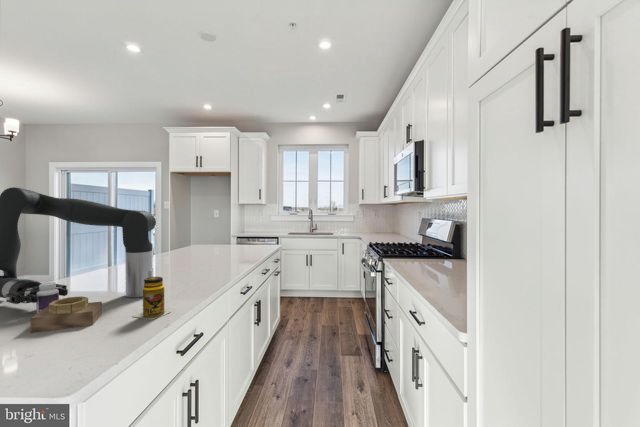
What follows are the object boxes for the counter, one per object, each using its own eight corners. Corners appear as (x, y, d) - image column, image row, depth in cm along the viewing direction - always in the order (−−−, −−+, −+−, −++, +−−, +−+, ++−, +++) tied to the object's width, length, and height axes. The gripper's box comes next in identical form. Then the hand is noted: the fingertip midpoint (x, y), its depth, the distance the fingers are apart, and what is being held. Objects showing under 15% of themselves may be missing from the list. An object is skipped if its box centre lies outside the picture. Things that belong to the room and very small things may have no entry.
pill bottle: (63, 311, 99) (62, 282, 99) (43, 317, 94) (43, 286, 94) (52, 309, 101) (52, 281, 101) (32, 315, 96) (32, 285, 95)
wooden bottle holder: (101, 313, 97) (101, 293, 97) (92, 324, 88) (92, 302, 88) (46, 319, 92) (46, 298, 92) (30, 332, 83) (30, 309, 82)
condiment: (153, 320, 92) (152, 281, 92) (132, 317, 95) (131, 279, 95) (171, 312, 99) (171, 276, 99) (151, 309, 102) (151, 274, 101)
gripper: (-7, 284, 96) (23, 289, 90) (47, 275, 109) (76, 279, 103) (-7, 307, 96) (23, 314, 90) (48, 295, 109) (76, 300, 103)
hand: (51, 295), depth 96 cm, fingers open, 7 cm apart
